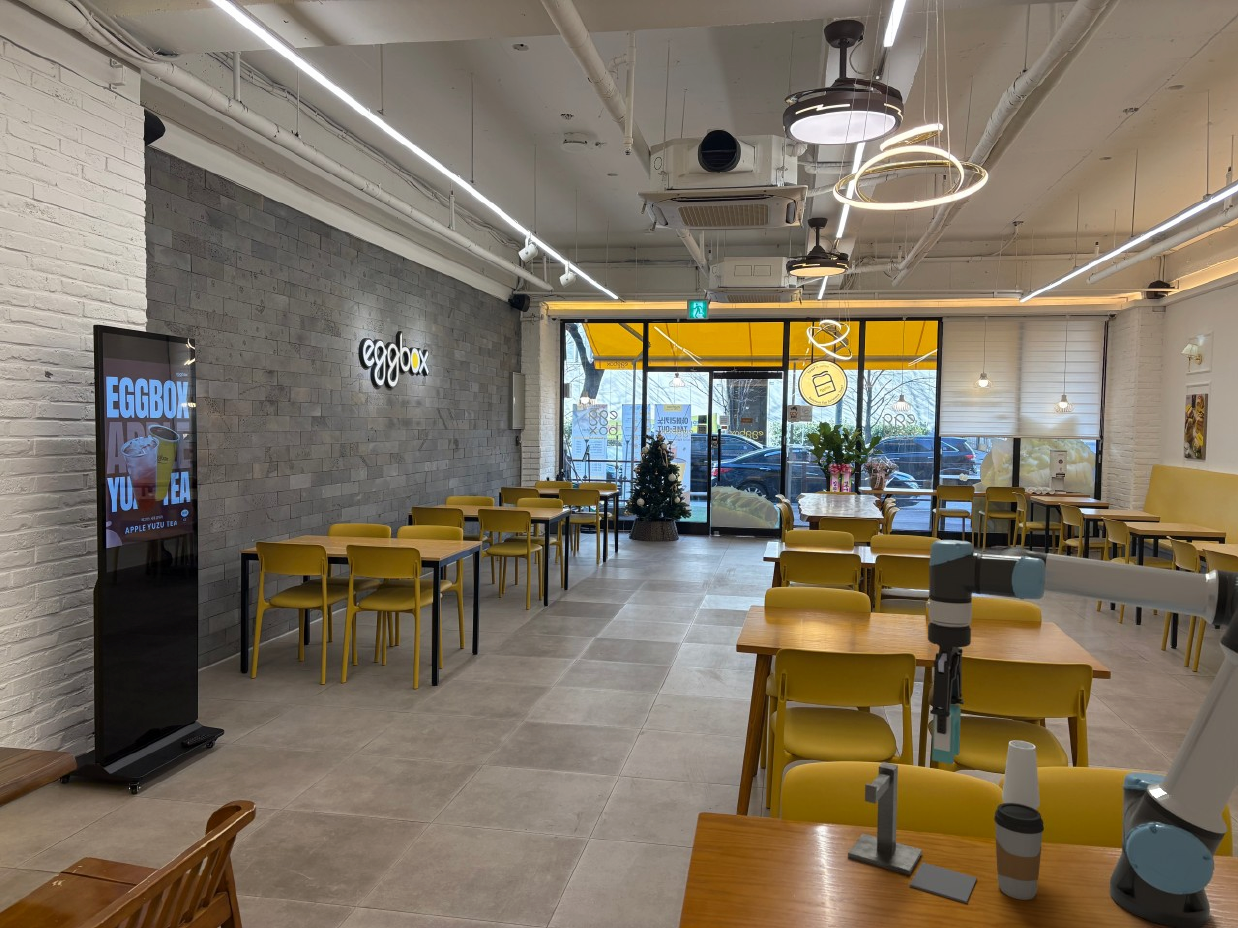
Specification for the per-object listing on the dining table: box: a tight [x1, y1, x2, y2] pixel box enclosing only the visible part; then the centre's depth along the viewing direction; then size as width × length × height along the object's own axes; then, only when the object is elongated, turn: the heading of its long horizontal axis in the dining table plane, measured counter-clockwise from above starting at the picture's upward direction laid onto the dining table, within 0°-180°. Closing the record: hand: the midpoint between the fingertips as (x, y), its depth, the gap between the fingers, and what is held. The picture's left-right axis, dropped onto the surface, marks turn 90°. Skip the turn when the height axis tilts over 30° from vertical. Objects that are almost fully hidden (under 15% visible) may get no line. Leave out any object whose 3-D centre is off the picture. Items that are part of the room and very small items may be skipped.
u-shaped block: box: [931, 704, 962, 765], centre depth 153 cm, size 7×4×9 cm, turn 147°
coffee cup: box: [993, 802, 1045, 901], centre depth 150 cm, size 8×8×15 cm
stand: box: [847, 761, 923, 876], centre depth 160 cm, size 12×16×18 cm
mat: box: [909, 862, 978, 904], centre depth 153 cm, size 10×10×1 cm
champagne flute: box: [1001, 740, 1041, 811], centre depth 160 cm, size 7×7×24 cm
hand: (946, 743), depth 153 cm, fingers closed on u-shaped block, 7 cm apart
